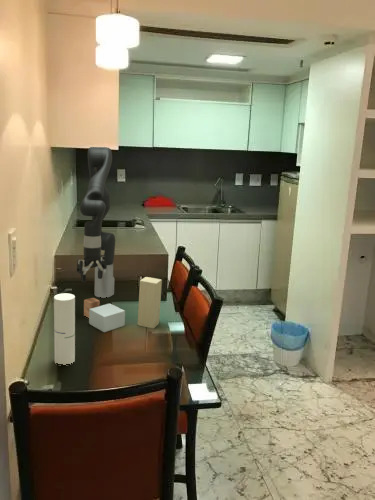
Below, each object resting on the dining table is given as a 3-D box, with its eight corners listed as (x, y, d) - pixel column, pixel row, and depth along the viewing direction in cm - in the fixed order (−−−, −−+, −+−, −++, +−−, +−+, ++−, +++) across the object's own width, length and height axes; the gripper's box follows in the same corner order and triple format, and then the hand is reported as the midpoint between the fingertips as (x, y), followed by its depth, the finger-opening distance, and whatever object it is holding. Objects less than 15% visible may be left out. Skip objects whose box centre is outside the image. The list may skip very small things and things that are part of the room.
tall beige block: (160, 322, 202) (162, 278, 197) (153, 328, 195) (156, 283, 190) (144, 319, 204) (146, 276, 199) (137, 325, 197) (139, 280, 192)
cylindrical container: (56, 355, 167) (56, 292, 160) (76, 356, 167) (76, 293, 161) (52, 365, 160) (52, 300, 153) (73, 365, 160) (73, 300, 154)
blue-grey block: (109, 317, 204) (109, 303, 202) (124, 325, 196) (125, 310, 195) (89, 323, 196) (89, 309, 194) (104, 332, 189) (104, 316, 187)
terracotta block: (92, 313, 207) (93, 297, 205) (99, 317, 204) (99, 300, 202) (83, 316, 203) (83, 299, 201) (90, 319, 200) (90, 303, 198)
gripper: (100, 241, 203) (100, 275, 207) (73, 245, 193) (73, 281, 197) (110, 244, 198) (109, 279, 202) (83, 249, 188) (83, 285, 192)
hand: (91, 280), depth 199 cm, fingers open, 8 cm apart
